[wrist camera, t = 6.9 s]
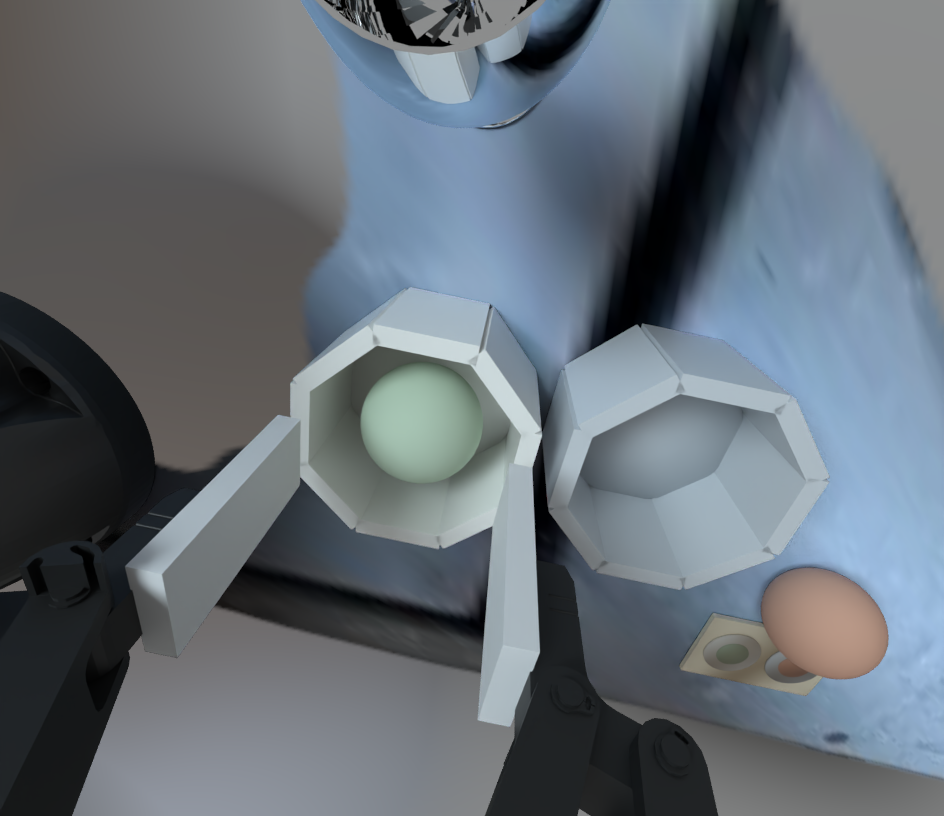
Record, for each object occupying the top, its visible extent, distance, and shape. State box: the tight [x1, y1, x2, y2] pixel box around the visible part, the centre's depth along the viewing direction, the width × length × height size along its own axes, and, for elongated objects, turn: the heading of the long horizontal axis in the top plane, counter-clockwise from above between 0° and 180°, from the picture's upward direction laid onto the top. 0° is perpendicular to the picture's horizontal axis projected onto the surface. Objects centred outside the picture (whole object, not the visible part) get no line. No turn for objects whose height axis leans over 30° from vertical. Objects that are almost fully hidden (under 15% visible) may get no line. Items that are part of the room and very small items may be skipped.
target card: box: [679, 613, 823, 696], centre depth 28 cm, size 8×5×1 cm, turn 79°
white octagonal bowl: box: [290, 287, 542, 549], centre depth 19 cm, size 9×9×6 cm
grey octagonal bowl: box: [542, 323, 830, 590], centre depth 19 cm, size 9×9×6 cm
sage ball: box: [360, 362, 483, 484], centre depth 19 cm, size 5×5×5 cm
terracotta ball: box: [761, 568, 888, 679], centre depth 23 cm, size 5×5×5 cm
